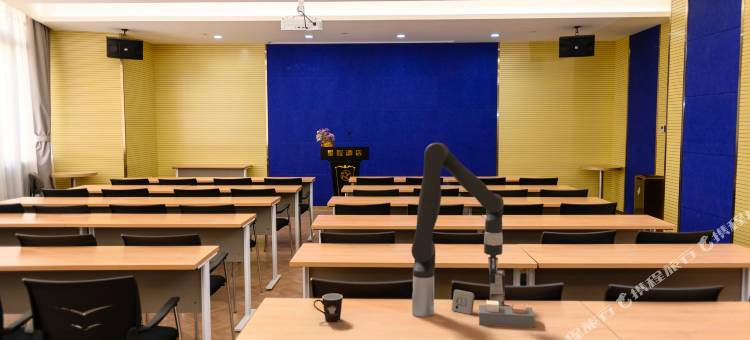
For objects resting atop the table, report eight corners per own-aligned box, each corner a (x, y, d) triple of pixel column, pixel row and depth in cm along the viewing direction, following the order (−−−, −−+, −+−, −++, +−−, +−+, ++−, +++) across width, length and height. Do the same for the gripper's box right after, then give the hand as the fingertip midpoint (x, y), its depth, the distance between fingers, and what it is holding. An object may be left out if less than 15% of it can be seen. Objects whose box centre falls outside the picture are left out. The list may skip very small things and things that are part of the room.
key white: (486, 315, 235) (486, 304, 235) (486, 311, 240) (486, 300, 240) (498, 316, 234) (498, 304, 234) (498, 312, 239) (498, 300, 239)
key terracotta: (513, 320, 233) (513, 308, 233) (512, 316, 238) (512, 304, 238) (525, 321, 232) (526, 309, 232) (524, 317, 237) (525, 305, 237)
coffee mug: (346, 317, 243) (346, 295, 242) (336, 324, 235) (336, 301, 234) (322, 313, 248) (322, 291, 247) (312, 320, 240) (312, 297, 239)
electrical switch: (451, 310, 250) (452, 290, 250) (456, 308, 255) (457, 288, 254) (470, 315, 245) (471, 294, 245) (475, 312, 249) (476, 292, 249)
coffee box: (504, 310, 250) (505, 275, 248) (489, 309, 251) (490, 274, 250) (504, 303, 259) (504, 269, 257) (489, 303, 260) (490, 268, 259)
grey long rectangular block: (479, 324, 234) (479, 312, 233) (479, 316, 243) (479, 304, 243) (533, 327, 230) (534, 315, 229) (531, 319, 239) (531, 307, 239)
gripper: (484, 238, 241) (483, 278, 243) (484, 245, 228) (483, 287, 230) (501, 239, 240) (501, 278, 242) (503, 246, 227) (502, 288, 229)
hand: (492, 282), depth 236 cm, fingers closed
